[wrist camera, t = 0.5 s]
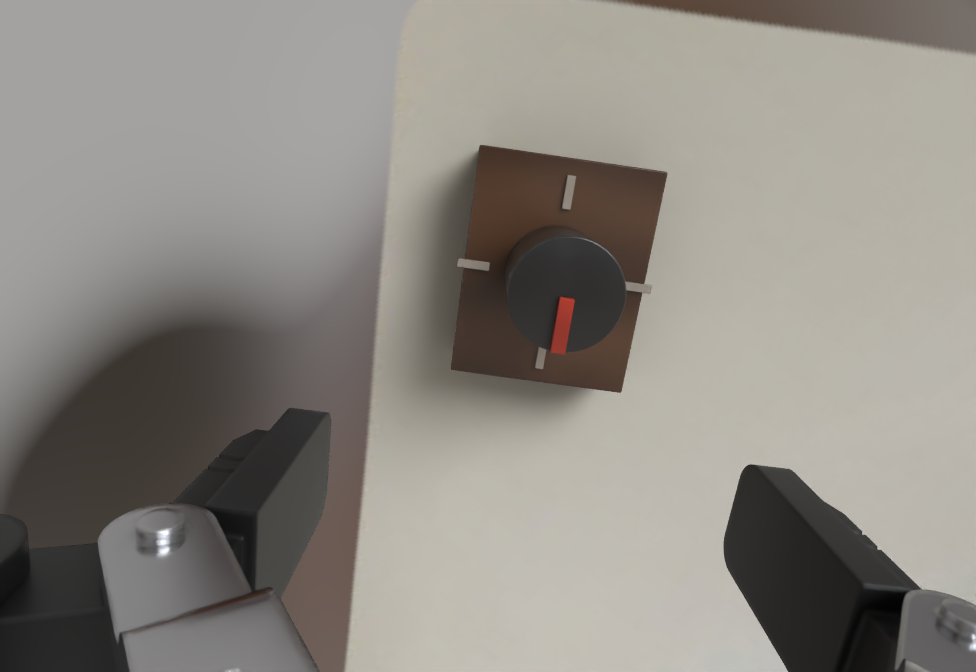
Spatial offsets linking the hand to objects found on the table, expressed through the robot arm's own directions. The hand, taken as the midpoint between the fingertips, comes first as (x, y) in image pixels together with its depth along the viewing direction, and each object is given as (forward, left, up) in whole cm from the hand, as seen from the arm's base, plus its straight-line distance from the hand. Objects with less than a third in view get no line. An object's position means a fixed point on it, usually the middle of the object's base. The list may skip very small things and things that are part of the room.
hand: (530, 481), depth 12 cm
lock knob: (-2, 0, -16) cm, 16 cm away
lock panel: (-2, 0, -19) cm, 19 cm away
